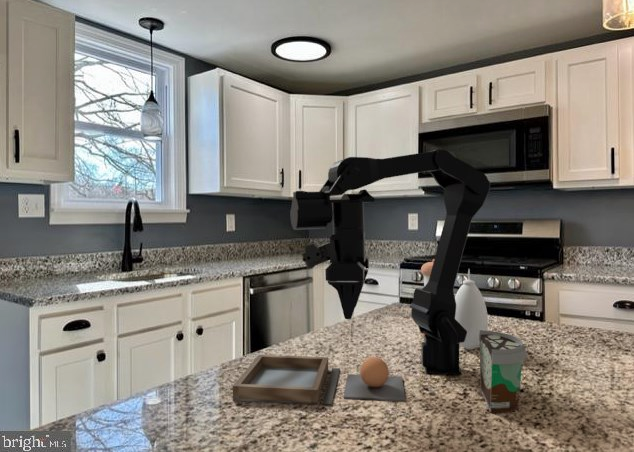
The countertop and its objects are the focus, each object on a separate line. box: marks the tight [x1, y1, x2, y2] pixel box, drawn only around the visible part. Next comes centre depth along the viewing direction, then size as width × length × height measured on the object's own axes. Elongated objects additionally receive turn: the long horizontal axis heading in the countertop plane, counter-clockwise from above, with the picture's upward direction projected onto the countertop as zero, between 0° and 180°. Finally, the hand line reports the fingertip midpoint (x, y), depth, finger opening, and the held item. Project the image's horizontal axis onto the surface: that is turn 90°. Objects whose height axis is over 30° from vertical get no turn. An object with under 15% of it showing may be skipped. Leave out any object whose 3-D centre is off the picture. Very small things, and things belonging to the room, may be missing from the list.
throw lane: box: [232, 354, 406, 407], centre depth 78 cm, size 28×16×2 cm, turn 82°
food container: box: [479, 330, 528, 414], centre depth 70 cm, size 12×6×10 cm, turn 168°
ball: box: [359, 356, 390, 387], centre depth 76 cm, size 5×5×5 cm
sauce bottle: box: [454, 269, 489, 351], centre depth 98 cm, size 8×8×18 cm
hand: (350, 312), depth 80 cm, fingers open, 9 cm apart
